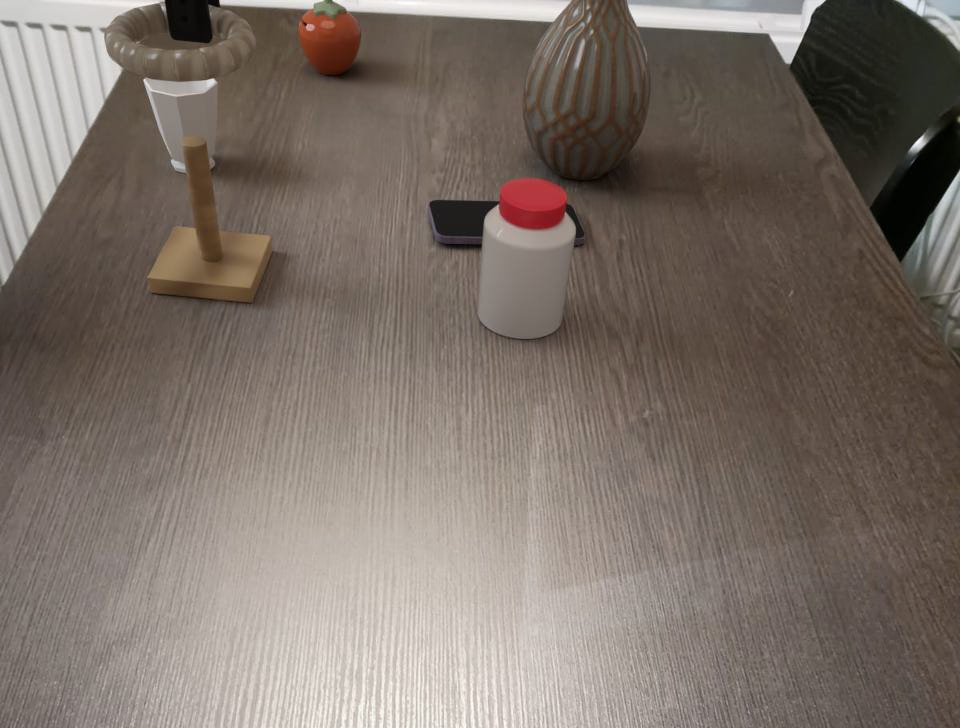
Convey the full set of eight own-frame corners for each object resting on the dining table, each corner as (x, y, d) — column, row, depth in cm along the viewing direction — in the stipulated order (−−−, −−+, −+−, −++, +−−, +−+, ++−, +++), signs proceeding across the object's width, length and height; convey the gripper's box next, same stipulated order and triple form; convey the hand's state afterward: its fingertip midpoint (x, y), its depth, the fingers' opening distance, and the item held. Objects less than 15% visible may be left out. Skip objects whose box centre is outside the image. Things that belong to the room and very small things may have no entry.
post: (150, 293, 85) (121, 160, 76) (177, 240, 90) (153, 111, 82) (252, 303, 85) (236, 172, 76) (273, 250, 91) (260, 122, 82)
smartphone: (588, 239, 95) (436, 237, 92) (586, 250, 95) (436, 248, 93) (571, 202, 99) (426, 198, 96) (569, 212, 100) (426, 209, 97)
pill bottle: (498, 346, 83) (510, 223, 75) (463, 298, 88) (471, 177, 79) (577, 330, 86) (597, 210, 77) (539, 285, 90) (555, 166, 82)
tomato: (300, 55, 119) (295, -20, 113) (361, 57, 120) (359, -17, 114) (299, 80, 115) (294, 4, 108) (362, 82, 116) (361, 6, 109)
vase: (607, 135, 111) (637, -44, 98) (655, 190, 104) (694, 4, 90) (500, 143, 108) (516, -41, 94) (541, 200, 100) (564, 9, 87)
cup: (153, 179, 97) (137, 94, 91) (166, 135, 104) (152, 52, 97) (225, 182, 98) (213, 97, 92) (233, 137, 104) (223, 55, 98)
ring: (88, 77, 71) (81, 47, 69) (133, 20, 77) (127, -8, 76) (238, 93, 71) (234, 63, 69) (270, 34, 77) (267, 6, 76)
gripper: (130, -310, 67) (176, -7, 82) (50, -269, 57) (119, 68, 72) (237, -299, 68) (265, 1, 82) (176, -256, 57) (220, 78, 72)
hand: (196, 30), depth 77 cm, fingers closed on ring, 2 cm apart
